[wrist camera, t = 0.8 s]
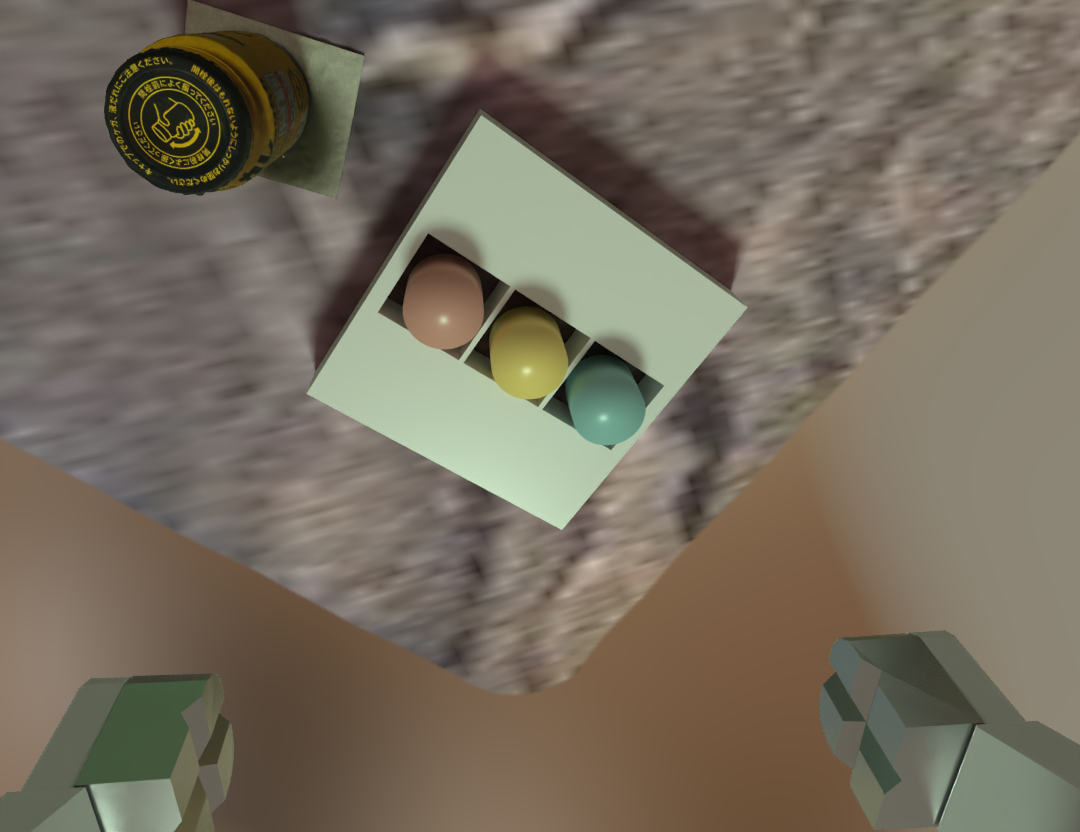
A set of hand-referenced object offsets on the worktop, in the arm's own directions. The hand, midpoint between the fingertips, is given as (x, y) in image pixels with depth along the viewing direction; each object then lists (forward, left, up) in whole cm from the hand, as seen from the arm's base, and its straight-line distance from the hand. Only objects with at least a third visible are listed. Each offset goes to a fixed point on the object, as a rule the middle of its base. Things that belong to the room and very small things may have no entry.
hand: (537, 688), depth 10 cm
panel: (+6, +7, -36) cm, 37 cm away
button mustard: (+6, +7, -35) cm, 36 cm away
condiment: (+3, -11, -37) cm, 38 cm away
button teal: (+6, +13, -35) cm, 37 cm away
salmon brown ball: (+6, +2, -35) cm, 35 cm away
